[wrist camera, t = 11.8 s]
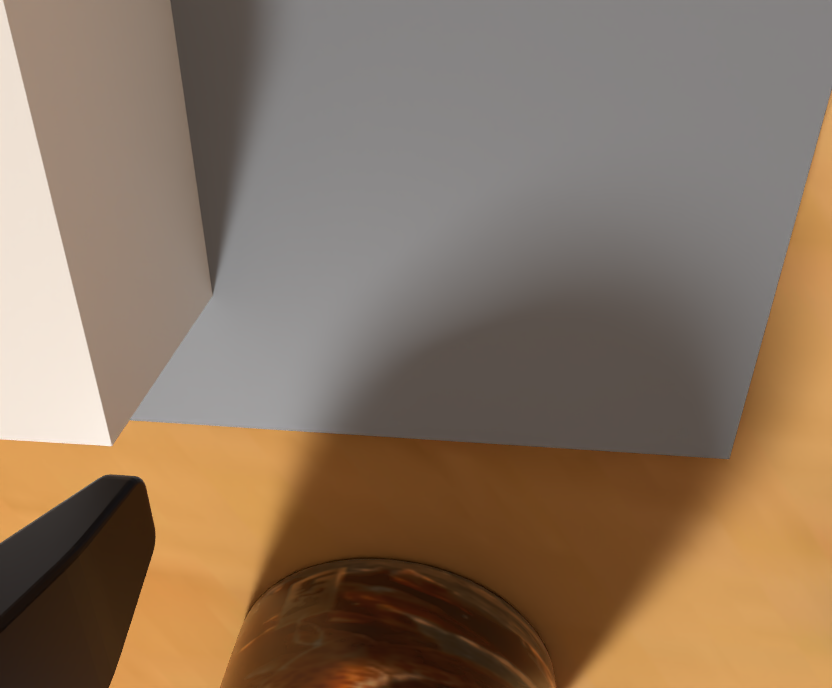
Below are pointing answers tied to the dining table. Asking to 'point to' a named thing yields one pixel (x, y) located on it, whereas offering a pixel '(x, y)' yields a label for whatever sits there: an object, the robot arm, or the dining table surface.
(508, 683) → the jar
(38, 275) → the housing
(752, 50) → the board
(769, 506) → the dining table surface
